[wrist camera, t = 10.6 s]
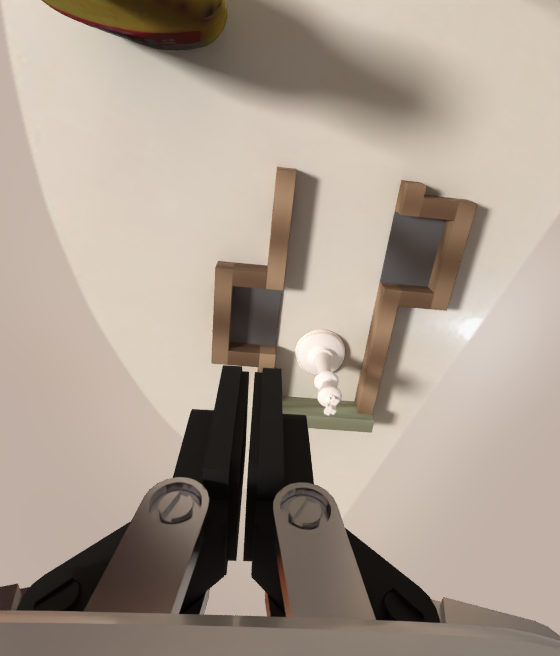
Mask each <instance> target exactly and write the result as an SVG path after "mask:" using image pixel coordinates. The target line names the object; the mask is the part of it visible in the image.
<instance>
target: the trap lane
mask: <svg viewBox="0 0 560 656" xmlns="http://www.w3.org/2000/svg"><path fill="white" fill-rule="evenodd" d="M295 179H296V170H295V169H292V168H282V167H277V172H276V183H275V194H274V204H273V215H272V226H271V236H270V247H269V258H268V266H264V265H253V264H243V263H232V262H221V261H218V263H217V265H216V268H215V291H214V315H213V340H212V363H213V364H226V365H238V366H251V367H258V372H262V370H263V368H274V365H275V357H276V337H277V328H278V319H279V310H280V301H281V292H282V290H283V285H284V277H285V268H286V259H287V250H288V241H289V232H290V223H291V214H292V205H293V196H294V188H295ZM426 186H427V185H425V184H422V183H420V182H413V181H403V180H401V185H400V190H399V194H398V199H397V204H396V209H395V213H394V218H393V223H392V227H391V232H390V237H389V242H388V246H387V251H386V256H385V260H384V265H383V270H382V275H381V279H380V284H379V289H378V293H377V298H376V303H375V308H374V312H373V317H372V322H371V326H370V331H369V336H368V341H367V345H366V350H365V355H364V359H363V364H362V369H361V374H360V378H359V383H358V388H357V392H356V397H355V402H349V401H340V402H339V404H337V405H336V412H335V414H334V415H333V414H330V415H329V416H328V415H326V414H324V409H325V408H326V407H325V406H322V405H321V404H320V403H319V401H318V399H310V398H296V397H283V396H282V412H283V414H298V415H306V417H307V425H308V428H316V429H330V430H344V431H358V432H372V429H373V424H374V418H373V415H372V414H373V410H374V405H375V401H376V397H377V393H378V388H379V384H380V380H381V376H382V372H383V367H384V363H385V359H386V355H387V350H388V346H389V342H390V338H391V334H392V329H393V325H394V321H395V317H396V312H397V308H398V306H402V307H413V308H424V309H435V310H447V307H448V303H449V300H450V296H451V293H452V289H453V286H454V283H455V279H456V276H457V272H458V269H459V265H460V262H461V258H462V255H463V252H464V248H465V245H466V241H467V238H468V234H469V231H470V227H471V224H472V220H473V217H474V214H475V210H476V207H477V204H476V203H474V202H471V201H469V200H464V199H455V198H445V197H436V196H426V195H424V194H425V190H426Z"/></svg>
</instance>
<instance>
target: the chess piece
mask: <svg viewBox="0 0 560 656" xmlns="http://www.w3.org/2000/svg"><path fill="white" fill-rule="evenodd" d="M295 354H296V359H297V361H298V364H299V365H300V367H301V368H302V369H303V370H304V371H306V372H308V373H310V374H313V375H317V376H316V377H315V380H314V384H315V386H316V388H317V389H318V390H319V393H318V401H319V403H320V404H321V405H322V406H325V407H326V408H325V409H324V414H326V415H328V416H329V415H330V414H333V415H334V414H335V412H336V405H337V404H339V402H340V401H341V398H342V395H341V392H340V390H339V389H338V388H337V385H338V377H337V375H336V374H335V373H333V372H334V371H335V370H337V369H338V368H339V367H340V365H341V364H342V362H343V360H344V357H345V347H344V343H343V341H342V340H341V338H340V337H339V336H338V335H337V334H335V333H334V332H331V331H328V330H314V331H311V332H309V333H307V334H305V335H304V336H303V337H302V338H301V339H300V340H299V342H298V344H297V346H296V350H295Z"/></svg>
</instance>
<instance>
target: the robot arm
mask: <svg viewBox="0 0 560 656" xmlns="http://www.w3.org/2000/svg"><path fill="white" fill-rule="evenodd" d="M248 385H249V372H243V371H242V366H224V365H223V368H222V373H221V378H220V383H219V388H218V393H217V398H216V403H215V408H214V410H196V409H192V411H191V413H190V417H189V420H188V424H187V428H186V431H185V435H184V439H183V442H182V446H181V450H180V453H179V457H178V461H177V464H176V468H175V472H174V475H173V478H171V479H166V480H164V481H162V482H159V483H157V484H156V485H155V486H153V487H152V488H151V489H149V491H148V492H147V493H146V495H145V496H144V498H143V500H142V501H141V504H140V505H139V507H138V509H137V511H136V513H135V515H134V517H133V519H132V520H131V522H129V523H127V524H126V525H124V526H123V527H121V528H120V529H118V530H116V531H115V532H113V533H111V534H110V535H108V536H107V537H105V538H103V539H102V540H100V541H99V542H97V543H95V544H94V545H92V546H90V547H89V548H87V549H86V550H84V551H83V552H81V553H79V554H78V555H76V556H74V557H73V558H71V559H70V560H68V561H66V562H65V563H63V564H61V565H60V566H58V567H57V568H55V569H53V570H52V571H50V572H49V573H47V574H45V575H44V576H43V577H41V578H40V579H39V580H37V581H36V582H35V583H34V584H33V585H32V586H31V587H27V588H22V589H20V588H19V585H18V584H13V585H7V586H2V587H0V656H560V636H559V635H558V634H557V633H555V632H554V631H553V630H551V629H550V628H549V627H547V626H545V625H543V624H540V623H538V622H536V621H533V620H529V619H525V618H521V617H517V616H514V615H509V614H506V613H502V612H498V611H494V610H490V609H487V608H483V607H479V606H476V605H472V604H468V603H464V602H460V601H456V600H453V599H449V598H445V597H443V599H442V602H440V601H436V600H432V599H430V597H429V596H428V595H427V594H426V593H425V592H424V591H423V590H422V589H421V588H420V587H419V586H418V585H416V584H415V583H414V582H412V581H411V580H410V579H409V578H408V577H406V576H405V575H404V574H402V573H401V572H400V571H399V570H397V569H396V568H395V567H394V566H392V565H391V564H390V563H389V562H387V561H386V560H385V559H384V558H382V557H381V556H380V555H379V554H377V553H376V552H375V551H373V550H372V549H371V548H370V547H368V546H367V545H366V544H365V543H363V542H362V541H361V540H360V539H358V538H357V537H356V536H354V535H353V534H352V533H351V532H350V531H348V530H347V529H346V528H345V527H344V524H343V521H342V518H341V515H340V512H339V509H338V506H337V504H336V502H335V500H334V498H333V497H332V496H331V495H330V494H329V493H328V492H327V491H326V490H325V489H323V488H321V487H320V486H318V485H314V481H313V472H312V462H311V453H310V443H309V434H308V425H307V417H306V415H298V414H283V412H282V376H281V369H280V368H263V370H262V372H255V379H254V393H253V407H252V421H251V435H250V449H249V463H248V479H247V500H246V518H245V539H244V540H245V541H244V558H243V559H244V560H243V561H252V573H251V574H252V578H253V579H254V580H255V581H256V582H257V583H258V584H259V585H260V586H261V587H262V588H263V589H264V590H265V604H266V612H267V617H264V616H232V615H204V613H205V609H206V605H207V602H208V598H209V590H210V587H212V586H213V585H214V584H216V583H217V582H218V581H219V580H220V579H221V578H223V577H224V575H226V573H227V563H228V560H231V561H236V558H237V546H238V534H239V521H240V510H241V498H242V486H243V474H244V462H245V448H246V428H247V406H248Z"/></svg>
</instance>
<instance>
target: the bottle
mask: <svg viewBox="0 0 560 656" xmlns="http://www.w3.org/2000/svg"><path fill="white" fill-rule="evenodd" d="M42 1H43V2H45V3H46V4H47V5H49V6H50V7H52V8H53V9H55V10H56V11H58V12H60V13H61V14H63V15H65V16H67V17H70V18H72V19H74V20H76V21H79V22H82V23H84V24H86V25H89V26H91V27H95V28H98V29H100V30H102V31H105V32H108V33H111V34H113V35H116V36H120V37H123V38H127V39H129V40H132V41H134V42H137V43H139V44H142V45H145V46H149V47H153V48H157V49H165V50H188V49H194V48H199V47H203V46H207V45H208V44H210V43H212V42H213V41H214V40H215V39H216V38H217V37H218V36H219V34H220V33H221V32H222V30H223V28H224V26H225V23H226V19H227V9H226V7H225V0H42Z"/></svg>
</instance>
